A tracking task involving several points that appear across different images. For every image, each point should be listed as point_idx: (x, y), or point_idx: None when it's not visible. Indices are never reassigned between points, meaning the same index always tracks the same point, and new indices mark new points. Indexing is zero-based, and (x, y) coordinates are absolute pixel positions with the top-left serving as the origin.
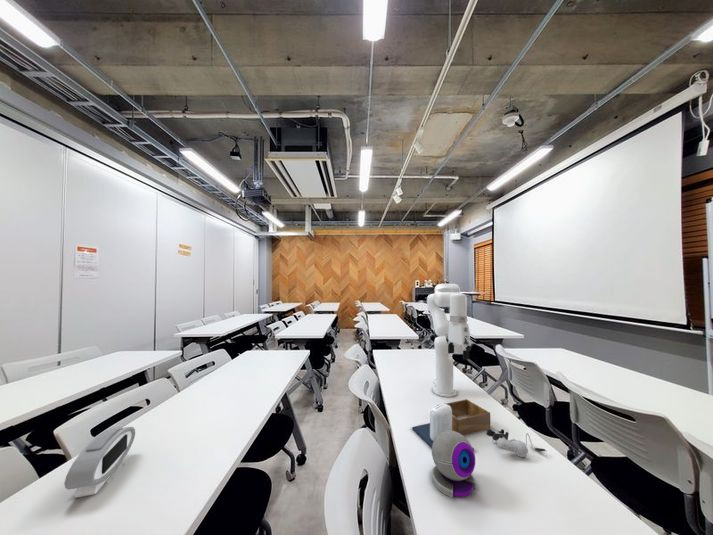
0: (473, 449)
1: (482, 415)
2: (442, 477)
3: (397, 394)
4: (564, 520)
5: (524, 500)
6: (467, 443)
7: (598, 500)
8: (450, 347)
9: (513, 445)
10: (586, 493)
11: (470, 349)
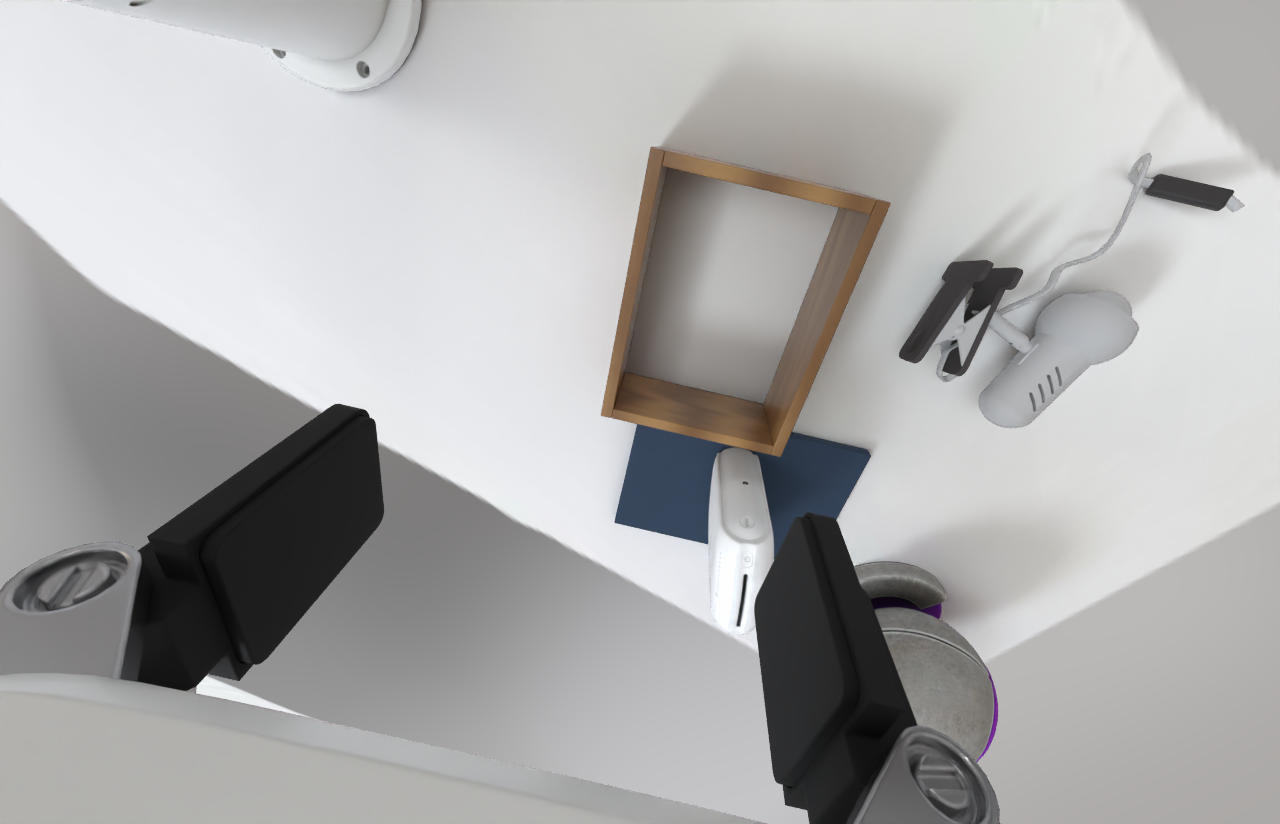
0: (869, 456)
1: (854, 283)
2: None
3: (292, 344)
4: (1212, 518)
5: (1088, 531)
6: (989, 734)
7: None
8: (287, 597)
9: (1070, 384)
10: None
11: (990, 785)
